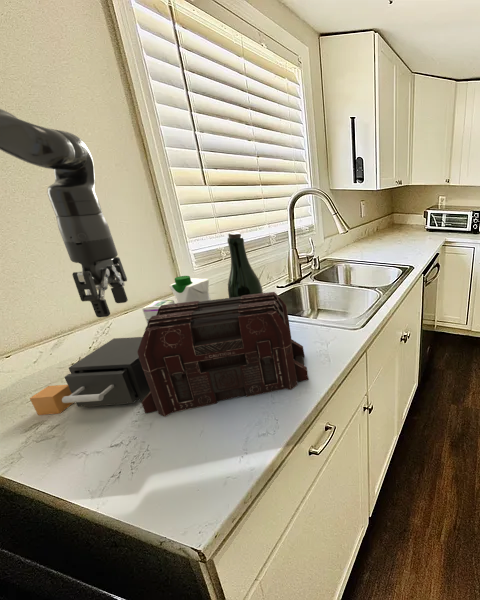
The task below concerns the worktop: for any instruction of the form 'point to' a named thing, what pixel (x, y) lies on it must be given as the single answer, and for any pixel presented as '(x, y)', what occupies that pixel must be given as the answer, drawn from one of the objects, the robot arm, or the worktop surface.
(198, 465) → the worktop surface
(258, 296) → the crate
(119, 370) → the drawer
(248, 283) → the beer bottle
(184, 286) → the milk carton
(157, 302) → the syrup box
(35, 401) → the orange block
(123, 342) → the dark grey box shell
